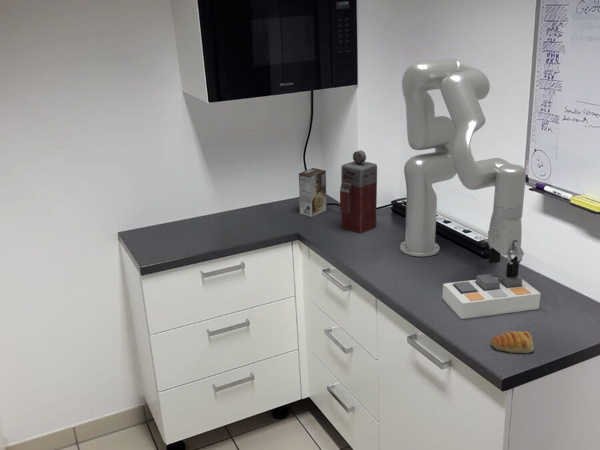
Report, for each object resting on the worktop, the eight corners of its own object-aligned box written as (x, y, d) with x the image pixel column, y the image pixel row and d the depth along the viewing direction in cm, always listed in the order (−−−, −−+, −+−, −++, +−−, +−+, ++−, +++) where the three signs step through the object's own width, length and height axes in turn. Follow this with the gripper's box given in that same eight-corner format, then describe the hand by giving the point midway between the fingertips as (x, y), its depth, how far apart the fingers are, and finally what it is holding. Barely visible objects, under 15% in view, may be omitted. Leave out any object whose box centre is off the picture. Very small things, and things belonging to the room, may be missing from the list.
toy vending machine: (336, 229, 229) (336, 152, 219) (357, 221, 236) (357, 146, 227) (356, 235, 223) (357, 156, 213) (376, 227, 231) (377, 150, 221)
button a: (453, 295, 177) (453, 283, 175) (467, 293, 177) (468, 281, 176) (461, 303, 172) (462, 291, 171) (476, 301, 173) (476, 289, 171)
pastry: (495, 355, 151) (496, 341, 150) (487, 340, 157) (488, 326, 156) (535, 354, 151) (537, 340, 150) (525, 339, 157) (527, 325, 156)
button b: (475, 287, 177) (476, 275, 176) (489, 285, 178) (490, 273, 177) (484, 295, 173) (485, 283, 171) (498, 293, 173) (500, 281, 172)
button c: (497, 284, 178) (498, 272, 177) (511, 283, 179) (512, 271, 178) (506, 292, 174) (507, 280, 172) (521, 291, 175) (522, 279, 173)
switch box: (442, 298, 178) (443, 283, 176) (515, 289, 182) (517, 274, 180) (461, 319, 167) (462, 302, 165) (538, 308, 171) (540, 292, 169)
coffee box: (313, 207, 252) (313, 167, 246) (327, 210, 248) (326, 170, 243) (299, 213, 246) (297, 172, 240) (312, 217, 242) (311, 175, 236)
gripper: (479, 202, 181) (475, 259, 186) (511, 222, 165) (506, 283, 170) (504, 200, 182) (499, 256, 188) (538, 219, 166) (532, 280, 172)
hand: (502, 269), depth 179 cm, fingers open, 9 cm apart
